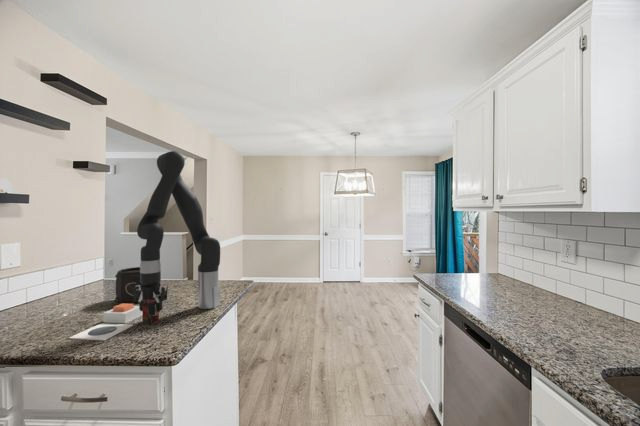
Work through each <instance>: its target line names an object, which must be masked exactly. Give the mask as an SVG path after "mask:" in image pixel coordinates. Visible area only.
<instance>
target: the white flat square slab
mask: <svg viewBox="0 0 640 426" xmlns="http://www.w3.org/2000/svg"><path fill="white" fill-rule="evenodd" d="M132 327H134V324H127V323H105V322H103V323H99V324H97V325H95V326H92V327H90V328H87V329H86V330H83V331H81V332H78V333H76V334H74V335H72V336H70V337H68V339H71V340H89V341H106V340H109V339H110V338H111V337H115V336H117V335H118V334H120V333H122V332H124V331H125V330H128V329H130V328H132Z"/></svg>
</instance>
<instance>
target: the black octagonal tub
mask: <svg viewBox="0 0 640 426" xmlns="http://www.w3.org/2000/svg"><path fill="white" fill-rule="evenodd" d="M114 277H115V295H116V296H115V298H114V299H115V300H116V301H117V303H119V304H122V303H127V304H134V305H135V304H139V302H138V301H137V300H136V301H135V300H134V289H133V287H134V286H137V285H141V283H140V266H138V267H137V266H136V267H127V268H124V269H119V270H117V273H116V274H115V276H114ZM141 293H142V290H141ZM137 296H138V295H137Z"/></svg>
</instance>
